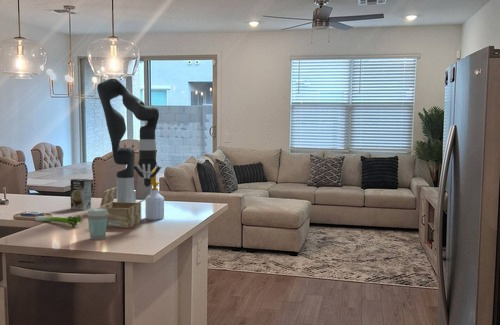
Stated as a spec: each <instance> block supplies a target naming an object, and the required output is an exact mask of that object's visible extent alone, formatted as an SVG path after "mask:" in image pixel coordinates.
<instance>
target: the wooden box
mask: <svg viewBox="0 0 500 325" xmlns="http://www.w3.org/2000/svg"><path fill="white" fill-rule="evenodd" d="M136 203H138V202H136ZM136 203H131V202H117V201H113V202H110V203H108V204H106V205H103V206H100V207H99V208H104V209H107V211H108V216H107V226H106V228H109V229H112V228H114V229H131V228H132V227H134V226H136V225H137V224H140V222H141V221H142V215H141V214H142V211H141V210H142V202H140V203H138V204H137V205H135V206H133V205H134V204H136ZM131 206H133V207H131ZM129 207H131V208H129Z"/></svg>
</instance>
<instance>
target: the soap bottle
mask: <svg viewBox="0 0 500 325" xmlns="http://www.w3.org/2000/svg"><path fill="white" fill-rule="evenodd" d="M155 170H156V169H155V168H154V169H153V170H152V174H153V173H154V171H155ZM160 184H161V182H158V181H157V175H156V176H155V177H152V178H151V185H152V188H151V190H150V191H151V193H150V194H148V195H147V196H146V197H145V199H146V198H148V197H150V196H152V195H153V196H152V197H150V198H148V199H146V200H144V203H145V206H144V207H145V209H144V210H145V215H144V216H145V219H147V220H151V221H157V220H158V221H159V219H160V220H163V219H164V218H165V197H164V196H163V195H161V194H160V193H159V188H158V185H160Z"/></svg>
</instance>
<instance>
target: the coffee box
mask: <svg viewBox="0 0 500 325" xmlns="http://www.w3.org/2000/svg"><path fill="white" fill-rule="evenodd" d="M89 209H92V179H87V178H72V179H70V210H79V211H88V210H89Z"/></svg>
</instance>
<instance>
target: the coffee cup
mask: <svg viewBox="0 0 500 325" xmlns="http://www.w3.org/2000/svg"><path fill="white" fill-rule="evenodd" d="M86 216H87V222H88V229H89V237H90V240H93V241H102V240H104V239H105V240H106V236H107V235H106V234H107V227H106V226H107V216H108V211H107V209H104V208H100V207H97V208H95V207H94V208H91V209H88V210H87V212H86Z"/></svg>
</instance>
